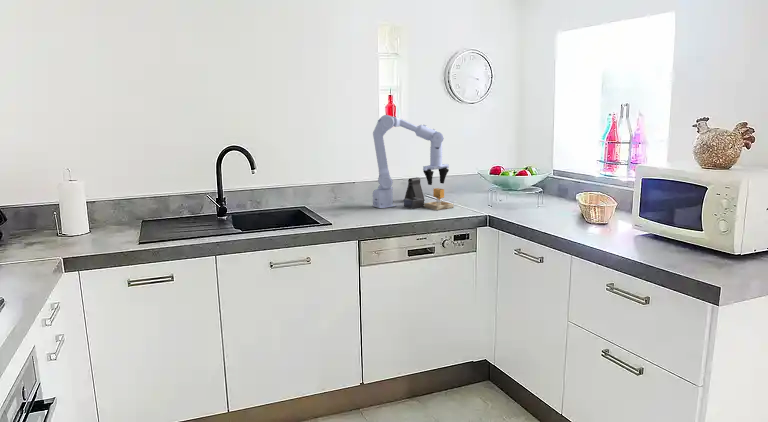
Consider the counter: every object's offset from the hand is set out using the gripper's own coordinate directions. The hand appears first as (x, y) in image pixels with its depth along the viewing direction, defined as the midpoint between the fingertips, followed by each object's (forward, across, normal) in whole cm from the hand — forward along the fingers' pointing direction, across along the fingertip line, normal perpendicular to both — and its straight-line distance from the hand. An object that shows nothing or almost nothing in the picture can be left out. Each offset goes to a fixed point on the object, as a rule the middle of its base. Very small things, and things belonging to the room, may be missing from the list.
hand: (436, 184), depth 282 cm
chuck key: (+10, -4, -6) cm, 12 cm away
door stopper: (+11, -2, +15) cm, 19 cm away
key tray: (+10, -4, -6) cm, 13 cm away
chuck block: (+10, -12, +2) cm, 16 cm away
